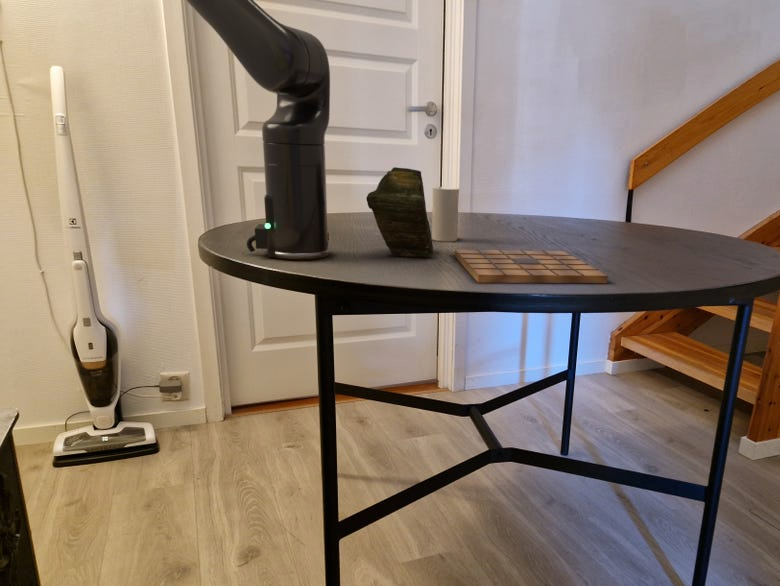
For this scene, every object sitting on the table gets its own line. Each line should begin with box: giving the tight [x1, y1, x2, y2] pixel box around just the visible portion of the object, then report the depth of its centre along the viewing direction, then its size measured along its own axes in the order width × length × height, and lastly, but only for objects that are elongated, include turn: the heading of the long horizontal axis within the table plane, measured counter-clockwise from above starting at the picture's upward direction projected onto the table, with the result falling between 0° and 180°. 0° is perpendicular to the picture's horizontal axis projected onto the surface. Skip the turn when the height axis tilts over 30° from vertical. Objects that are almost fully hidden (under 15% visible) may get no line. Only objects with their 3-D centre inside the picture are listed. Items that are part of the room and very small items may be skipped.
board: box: [454, 248, 609, 284], centre depth 100 cm, size 20×20×1 cm
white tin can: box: [431, 186, 460, 242], centre depth 122 cm, size 5×5×10 cm
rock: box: [366, 167, 434, 259], centre depth 104 cm, size 12×9×15 cm
